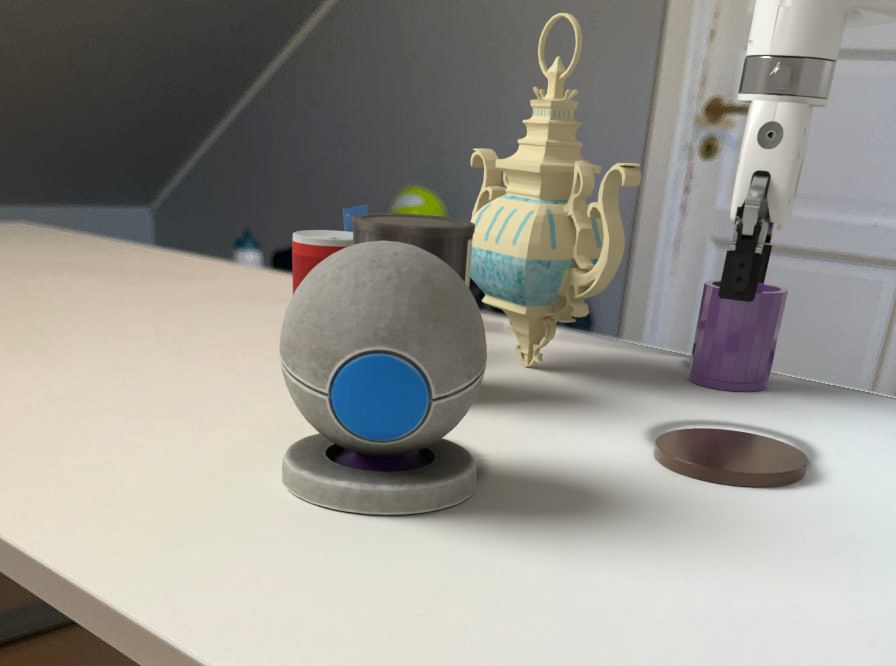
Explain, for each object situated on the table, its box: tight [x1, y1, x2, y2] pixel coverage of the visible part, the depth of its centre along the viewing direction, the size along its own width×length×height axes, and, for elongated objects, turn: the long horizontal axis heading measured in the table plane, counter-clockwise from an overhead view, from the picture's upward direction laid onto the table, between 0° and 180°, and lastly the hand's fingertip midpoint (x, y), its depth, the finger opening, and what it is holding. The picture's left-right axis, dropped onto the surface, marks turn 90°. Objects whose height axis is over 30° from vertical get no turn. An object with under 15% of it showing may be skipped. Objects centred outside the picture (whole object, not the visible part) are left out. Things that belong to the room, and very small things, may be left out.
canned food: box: [291, 229, 353, 296], centre depth 98 cm, size 8×8×11 cm
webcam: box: [279, 241, 488, 516], centre depth 62 cm, size 13×13×15 cm
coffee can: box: [351, 212, 475, 289], centre depth 84 cm, size 10×10×14 cm
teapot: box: [469, 12, 642, 368], centre depth 90 cm, size 24×12×30 cm, turn 29°
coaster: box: [653, 427, 809, 488], centre depth 72 cm, size 11×11×1 cm
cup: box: [687, 279, 790, 393], centre depth 94 cm, size 8×8×9 cm
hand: (741, 293), depth 92 cm, fingers open, 9 cm apart
